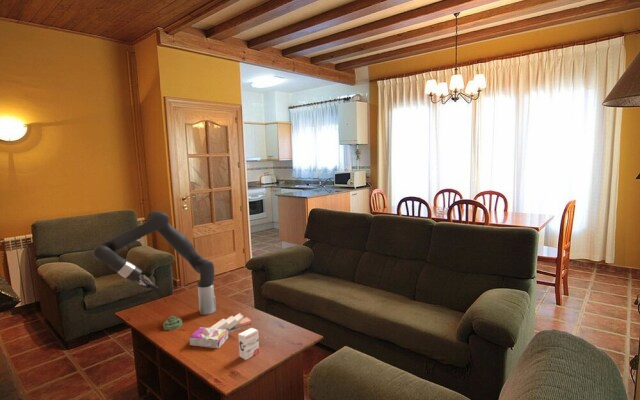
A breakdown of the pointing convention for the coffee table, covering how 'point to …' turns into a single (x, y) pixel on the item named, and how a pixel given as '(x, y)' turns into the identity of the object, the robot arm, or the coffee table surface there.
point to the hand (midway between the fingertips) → (157, 289)
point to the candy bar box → (208, 337)
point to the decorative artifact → (172, 323)
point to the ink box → (248, 343)
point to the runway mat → (233, 329)
